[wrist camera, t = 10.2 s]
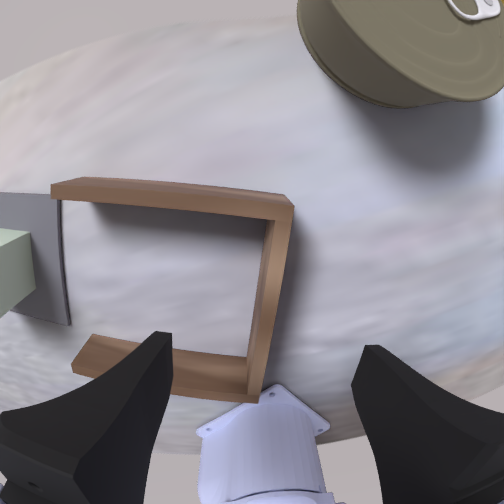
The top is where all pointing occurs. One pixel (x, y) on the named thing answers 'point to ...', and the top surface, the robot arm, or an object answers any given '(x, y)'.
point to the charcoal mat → (39, 252)
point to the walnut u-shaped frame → (267, 296)
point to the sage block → (15, 268)
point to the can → (407, 48)
